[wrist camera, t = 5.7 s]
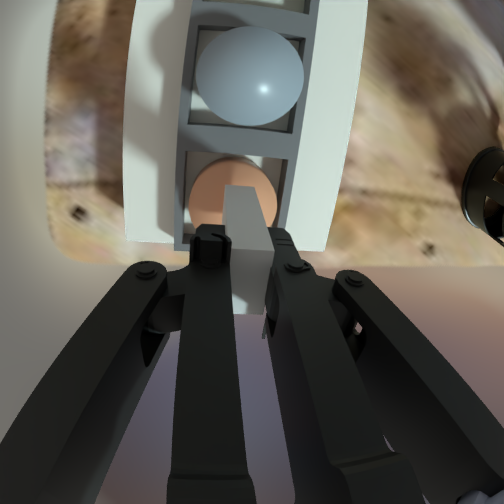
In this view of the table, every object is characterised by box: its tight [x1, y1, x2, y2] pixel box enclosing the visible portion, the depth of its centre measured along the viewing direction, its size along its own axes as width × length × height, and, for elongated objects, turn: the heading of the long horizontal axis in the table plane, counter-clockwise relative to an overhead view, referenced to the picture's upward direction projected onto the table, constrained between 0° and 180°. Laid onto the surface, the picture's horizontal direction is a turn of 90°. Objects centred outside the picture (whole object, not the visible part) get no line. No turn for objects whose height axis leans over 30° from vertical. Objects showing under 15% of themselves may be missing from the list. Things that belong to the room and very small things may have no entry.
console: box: [123, 0, 368, 252], centre depth 17 cm, size 22×14×6 cm, turn 173°
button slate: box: [196, 26, 304, 126], centre depth 13 cm, size 5×5×2 cm
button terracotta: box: [189, 157, 277, 228], centre depth 18 cm, size 5×5×2 cm
